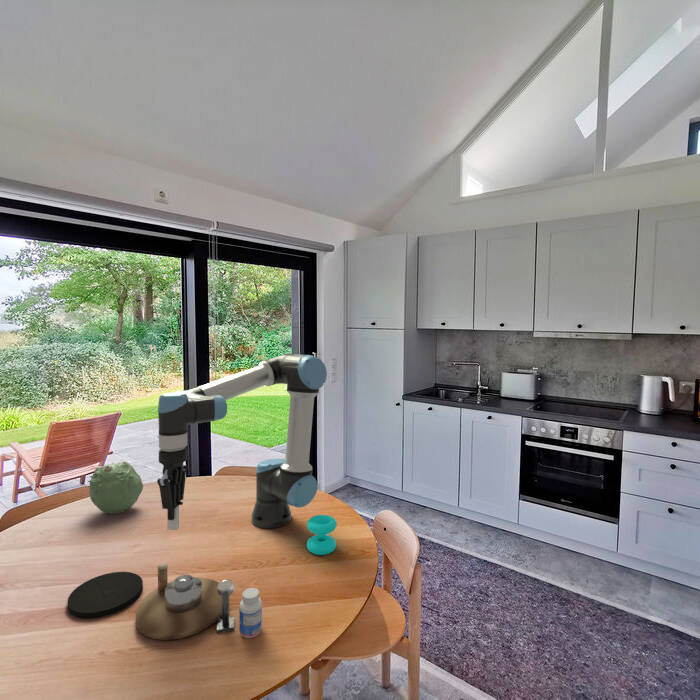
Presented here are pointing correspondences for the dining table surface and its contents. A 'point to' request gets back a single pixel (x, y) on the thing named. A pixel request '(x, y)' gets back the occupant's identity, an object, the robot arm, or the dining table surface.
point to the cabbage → (115, 487)
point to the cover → (183, 594)
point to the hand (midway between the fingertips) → (173, 528)
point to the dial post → (225, 606)
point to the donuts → (321, 534)
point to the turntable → (177, 625)
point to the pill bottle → (250, 613)
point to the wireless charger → (105, 595)
